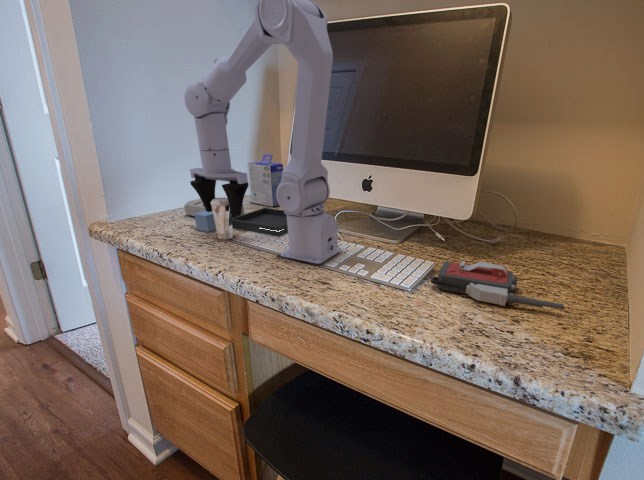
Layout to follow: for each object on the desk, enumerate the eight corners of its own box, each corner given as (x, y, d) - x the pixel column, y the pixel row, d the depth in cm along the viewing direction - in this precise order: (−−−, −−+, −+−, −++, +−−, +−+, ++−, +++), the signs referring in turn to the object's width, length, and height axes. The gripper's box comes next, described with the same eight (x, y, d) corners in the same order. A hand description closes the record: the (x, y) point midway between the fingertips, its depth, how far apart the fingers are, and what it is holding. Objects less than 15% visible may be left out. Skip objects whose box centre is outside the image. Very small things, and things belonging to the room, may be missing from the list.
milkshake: (235, 241, 83) (230, 196, 79) (211, 240, 83) (205, 195, 79) (242, 235, 87) (238, 192, 83) (219, 234, 87) (214, 191, 83)
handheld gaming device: (211, 208, 109) (209, 195, 107) (245, 216, 102) (243, 202, 100) (183, 215, 102) (180, 202, 101) (217, 224, 95) (214, 209, 93)
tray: (311, 221, 97) (310, 214, 97) (278, 236, 87) (278, 227, 86) (265, 214, 104) (264, 207, 103) (229, 226, 93) (228, 219, 92)
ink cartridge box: (287, 204, 115) (283, 155, 109) (273, 207, 111) (269, 157, 105) (264, 199, 120) (260, 152, 114) (251, 203, 115) (245, 154, 110)
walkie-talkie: (426, 293, 60) (562, 319, 53) (428, 268, 59) (569, 292, 52) (438, 273, 68) (559, 293, 61) (440, 250, 66) (565, 269, 59)
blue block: (221, 227, 92) (219, 211, 90) (208, 232, 89) (205, 215, 87) (209, 225, 94) (207, 209, 92) (196, 229, 90) (193, 213, 89)
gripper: (254, 149, 78) (261, 213, 83) (204, 146, 84) (213, 205, 89) (229, 153, 72) (238, 221, 77) (177, 148, 78) (189, 212, 83)
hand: (223, 213), depth 83 cm, fingers open, 7 cm apart
